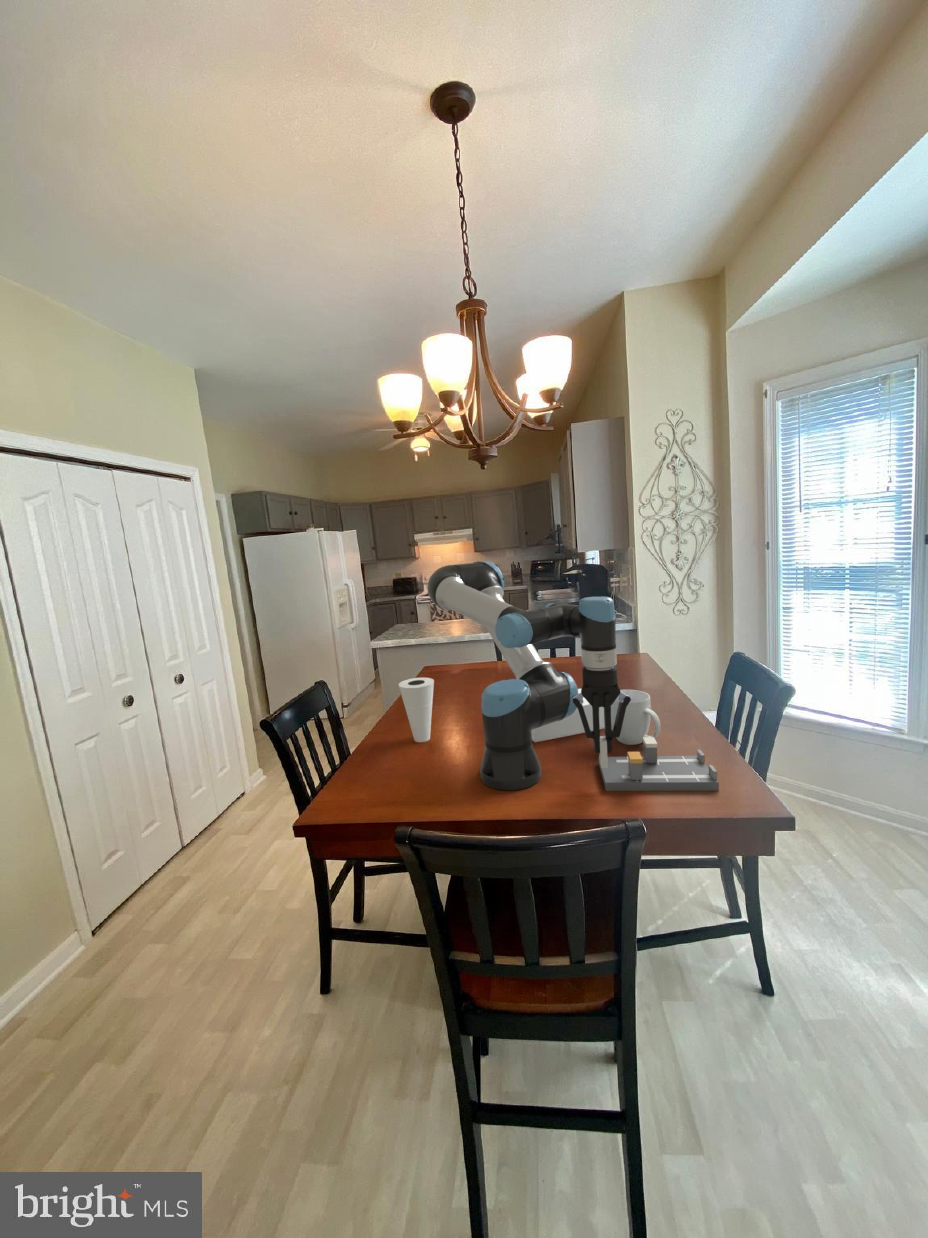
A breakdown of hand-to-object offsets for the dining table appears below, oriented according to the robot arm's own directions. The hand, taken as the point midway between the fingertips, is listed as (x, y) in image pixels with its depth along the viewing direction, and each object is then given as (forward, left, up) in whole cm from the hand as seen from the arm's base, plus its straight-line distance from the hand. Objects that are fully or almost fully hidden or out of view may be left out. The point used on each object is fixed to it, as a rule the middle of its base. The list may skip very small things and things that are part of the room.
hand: (603, 765), depth 111 cm
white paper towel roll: (-51, +29, -5) cm, 58 cm away
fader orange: (+7, 0, -3) cm, 8 cm away
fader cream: (+12, +8, -3) cm, 15 cm away
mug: (+11, +24, -5) cm, 27 cm away
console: (+12, +4, -5) cm, 14 cm away
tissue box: (-8, +36, -6) cm, 37 cm away
